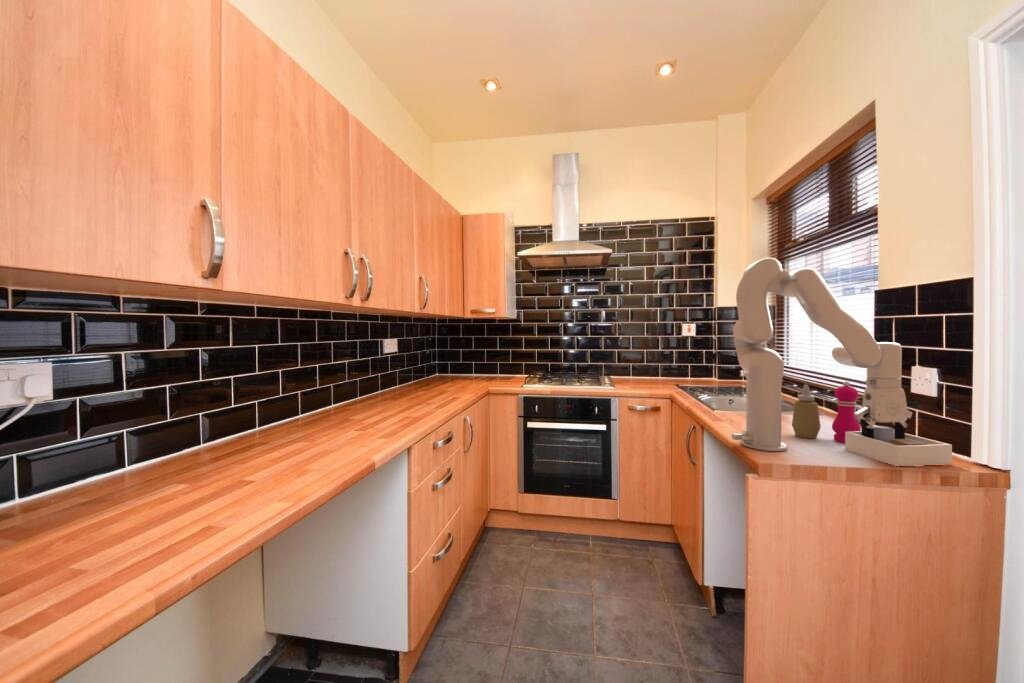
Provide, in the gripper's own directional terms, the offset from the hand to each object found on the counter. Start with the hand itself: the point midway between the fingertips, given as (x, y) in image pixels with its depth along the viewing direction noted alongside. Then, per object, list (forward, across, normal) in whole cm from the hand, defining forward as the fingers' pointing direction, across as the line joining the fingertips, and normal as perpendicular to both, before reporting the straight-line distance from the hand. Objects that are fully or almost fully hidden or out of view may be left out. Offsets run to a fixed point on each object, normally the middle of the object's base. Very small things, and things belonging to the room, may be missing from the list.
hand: (882, 440), depth 117 cm
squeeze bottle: (+4, -8, +20) cm, 21 cm away
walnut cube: (+3, 0, -7) cm, 8 cm away
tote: (+4, 0, -4) cm, 5 cm away
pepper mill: (+4, 0, +12) cm, 13 cm away
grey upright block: (+3, 0, 0) cm, 3 cm away
